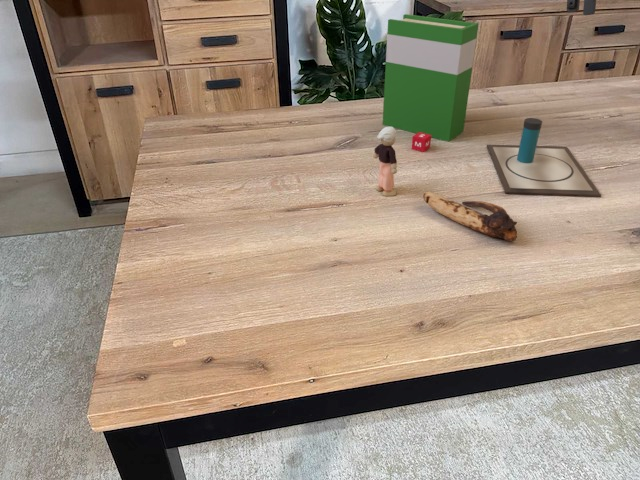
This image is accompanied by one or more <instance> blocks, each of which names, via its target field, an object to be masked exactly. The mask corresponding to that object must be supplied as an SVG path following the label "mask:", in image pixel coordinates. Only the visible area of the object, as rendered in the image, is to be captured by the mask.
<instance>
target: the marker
mask: <svg viewBox="0 0 640 480" xmlns="http://www.w3.org/2000/svg"><path fill="white" fill-rule="evenodd" d="M542 125H543V120H541V119H539V118H536V117H527V118H525V119H524V121H523V127H522V131H521V137H520V142H519V145H520V146H519V151H518V156H517V160H518V161H519V162H522V163H532V162H533V160H534V155H535V151H536V146H538V142H539V137H540V133H541V129H542Z"/></svg>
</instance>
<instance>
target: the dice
mask: <svg viewBox="0 0 640 480" xmlns="http://www.w3.org/2000/svg"><path fill="white" fill-rule="evenodd" d="M431 142H432V137H431V135H429V134H425V133H421V132H419V133H414V135H413V136H412V139H411V150H414V151H417V152H422V153H425V152H426V151H428V150H429V149H431V144H432V143H431Z"/></svg>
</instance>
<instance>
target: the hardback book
mask: <svg viewBox="0 0 640 480" xmlns="http://www.w3.org/2000/svg"><path fill="white" fill-rule="evenodd" d="M478 30H479V23H478V22H470V21H463V20H455V19H445V18H439V17H430V16H424V15H415V14H408V13H405V14H403V17H402V19H393V18H388V19H387V34H386V35H387V36H386V50H385V51H386V53H385V68H384V69H385V71H384V73H385V74H384V87H383V88H384V89H383V107H382V126H385V127H393V128H394V129H397V130H402V131H406V132H409V133H413V134H417V133H419V132H421V133H425V134H429V135H431V139H432V138H433V139H436V140H439V141H444V142H450V141H452V140H454V139H455V138H457V137H458V136H459V135H461V134H462V133H463V132H464V129H465V123H466V116H467V115H466V114H467V108H468V102H469V101H468V100H469V96H470V95H469V93H470V86H471V80H472V72H473V65H474V59H475V58H474V57H475V52H476V46H477V37H478Z"/></svg>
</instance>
